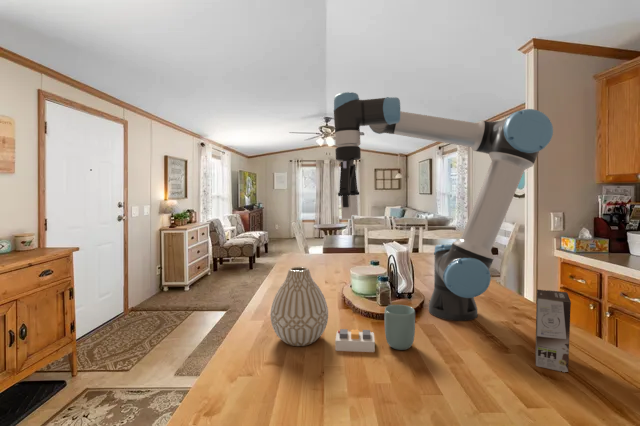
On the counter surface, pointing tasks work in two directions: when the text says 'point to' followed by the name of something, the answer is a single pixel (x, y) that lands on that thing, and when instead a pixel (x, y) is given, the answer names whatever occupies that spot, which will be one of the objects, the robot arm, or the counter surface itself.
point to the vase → (299, 309)
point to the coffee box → (552, 329)
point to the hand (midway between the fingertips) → (350, 217)
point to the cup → (399, 326)
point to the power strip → (355, 341)
